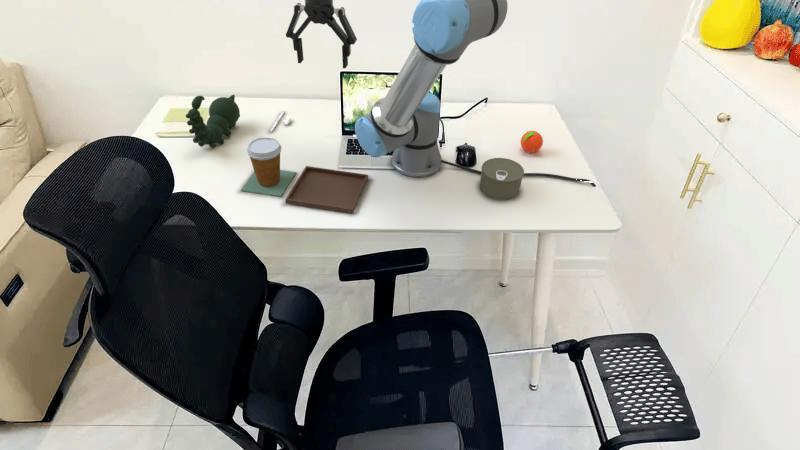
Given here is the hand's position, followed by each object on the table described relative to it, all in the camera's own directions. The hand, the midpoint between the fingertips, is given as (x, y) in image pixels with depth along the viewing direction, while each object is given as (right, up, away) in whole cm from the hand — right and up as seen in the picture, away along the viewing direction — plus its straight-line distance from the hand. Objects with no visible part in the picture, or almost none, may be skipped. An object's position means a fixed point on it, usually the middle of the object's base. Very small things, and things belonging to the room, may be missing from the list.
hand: (323, 64), depth 157 cm
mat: (-16, -35, -1) cm, 38 cm away
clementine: (+64, -23, +17) cm, 70 cm away
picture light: (-18, -12, +27) cm, 34 cm away
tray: (+2, -37, -3) cm, 37 cm away
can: (+52, -37, 0) cm, 63 cm away
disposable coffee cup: (-16, -34, -1) cm, 38 cm away
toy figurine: (-36, -18, +18) cm, 44 cm away
